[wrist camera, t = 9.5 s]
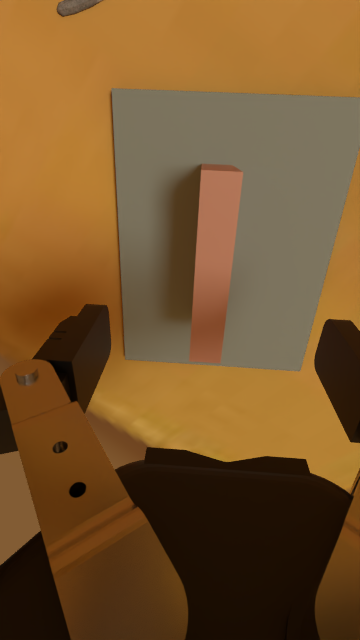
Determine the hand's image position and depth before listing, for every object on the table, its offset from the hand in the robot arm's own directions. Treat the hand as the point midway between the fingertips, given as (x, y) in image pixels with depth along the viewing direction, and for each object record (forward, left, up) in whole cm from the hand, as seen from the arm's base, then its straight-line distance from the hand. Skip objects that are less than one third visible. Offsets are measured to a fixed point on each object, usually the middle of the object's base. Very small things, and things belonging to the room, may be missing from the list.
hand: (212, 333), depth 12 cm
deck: (0, 0, -11) cm, 11 cm away
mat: (0, +1, -11) cm, 11 cm away
